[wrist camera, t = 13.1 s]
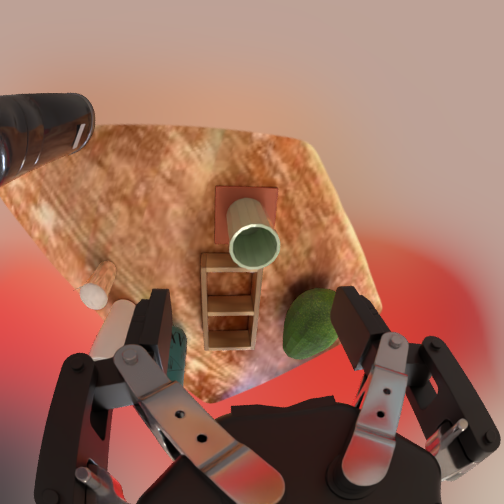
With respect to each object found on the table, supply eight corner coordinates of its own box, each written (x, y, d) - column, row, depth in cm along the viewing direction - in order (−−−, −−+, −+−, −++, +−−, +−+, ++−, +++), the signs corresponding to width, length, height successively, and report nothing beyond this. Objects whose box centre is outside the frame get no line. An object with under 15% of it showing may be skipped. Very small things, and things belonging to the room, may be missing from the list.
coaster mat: (214, 242, 45) (214, 244, 44) (215, 186, 41) (215, 186, 40) (272, 242, 46) (272, 244, 46) (277, 187, 42) (278, 188, 42)
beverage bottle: (193, 338, 54) (191, 428, 36) (163, 345, 54) (153, 433, 36) (178, 314, 51) (170, 408, 33) (147, 322, 51) (129, 413, 33)
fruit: (305, 341, 58) (318, 378, 49) (262, 332, 55) (271, 371, 46) (345, 285, 52) (367, 319, 43) (301, 269, 49) (319, 306, 40)
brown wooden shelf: (204, 333, 53) (204, 350, 50) (201, 252, 45) (200, 267, 42) (251, 332, 55) (254, 349, 51) (259, 253, 47) (263, 267, 43)
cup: (225, 235, 44) (228, 269, 35) (226, 197, 41) (230, 223, 32) (264, 235, 45) (277, 269, 36) (267, 198, 42) (282, 224, 33)
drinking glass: (110, 290, 47) (84, 351, 33) (145, 300, 48) (129, 364, 35) (108, 317, 49) (86, 378, 36) (141, 326, 51) (127, 389, 38)
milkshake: (105, 248, 43) (83, 282, 34) (125, 271, 45) (109, 309, 37) (88, 262, 44) (66, 296, 35) (108, 284, 46) (91, 321, 37)
